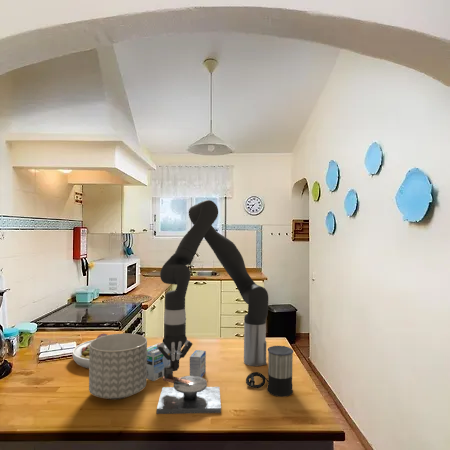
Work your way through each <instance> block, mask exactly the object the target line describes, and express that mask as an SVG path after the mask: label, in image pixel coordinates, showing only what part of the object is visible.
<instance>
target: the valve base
mask: <svg viewBox="0 0 450 450" xmlns="http://www.w3.org/2000/svg"><path fill="white" fill-rule="evenodd" d="M221 404H222V403H221V391H220V386H207V387H206V388H205V389H204V390H203V391H200V392H197V393H181V392H178V391H176V390H175V389H174V386H173V387H172V386H171V387H169V386H167V387H165V386H163V387H162V388H161V392H160V395H159V399H158V403H157V407H156V414H157V415H161V414H163V415H164V414H166V415H167V414H168V415H169V414H172V415H173V414H175V415H176V414H221V413H222V405H221Z"/></svg>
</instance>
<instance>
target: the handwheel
mask: <svg viewBox="0 0 450 450" xmlns="http://www.w3.org/2000/svg"><path fill="white" fill-rule="evenodd" d="M162 381H165V382H168V383H172V384H173V387H174V389H175V390H176V391H178V392H181V393H197V392H200V391H203V390H204V389H205V388H206V387H208V381H207V379H206V378H204V377H203V376H202V377H198V376H190V375H186V376H179V377H177V376H174V371H173V367H172V366H166V367H164V376H163V377H162Z"/></svg>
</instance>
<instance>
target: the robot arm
mask: <svg viewBox="0 0 450 450" xmlns="http://www.w3.org/2000/svg"><path fill="white" fill-rule="evenodd" d="M218 216H219V208H218V206H217V204H216V203H215V202H214V201H213V200H211V199H205V200H203V201H200V202H198V203H196V204H194V205H193V206H190V208H189V210H188V217H189V219H190V222H191V223H192V227H191V228H190V229H189V230H188V231H187V233H186V234H185V235H184V236H183V237H182V239H181V240H180V242H179V244H178V246H177V248H176V249H175V252H174V253H172V255H171V256H170V258H168V259H167V260H166V262H165V263H164V264H163V266H162V267H161V269H160V274H159V275H160V276H159V277H160V281H162V283H164V284H167V285H176V288H175V289H173V290H169V291H167V292H166V293H165V295H164V296H165V297H164V314H163V315H164V318H163V321H164V323H163V326H164V327H163V328H164V329H163V339H162V342H160V343H161V344H160V345H157V348H158V349H159V351H160V352H161V353H162V354H163V355H164V356H165V358H166V359H167V360H170V366H172V367H173V372H176V371H177V372H178V370H179V369H180V360H181V359H184V358H185V356H186V355H187V353H189V350H190V349H191V347H192V346H193V342H192V341H191V340H188V337H187V335H186V331H187V330H186V329H187V327H186V326H187V325H186V322H187V321H186V320H187V317H186V316H187V314H186V295H187V291H188V286H189V283H190V280H191V269H190V268H189V265H190V264H192V263H193V261H194V258H195V255H196V253H197V252H198V250H199V247H200V245H201V243H202V242H203V239H204V240H205V241H206V243H207V244H208V245H209V247H210V248H211V250H212V251H213V253H214V255H215V257H216V258H217V259H218V261H219V262H220V264H221V266H222V267H223V268H224V270H225V272H226V273H227V274H228V275H229V277H230V279H231V280H232V281H233V282H234V284H235V286H236V287H237V288H236V289H237V290H238V292H239V294H240V296H241V298H242V300H243V301H244V302H245V303H246V304H247V313H246V314H245V315H244V317H243V318H244V322H243V331H244V332H243V363H244V364H245V365H247V366H250V367H261V366H265V365H267V340H266V337H267V336H266V335H267V334H266V331H267V329H266V328H267V327H266V325H267V318H268V312H269V294H268V290H267V289H266V288H265V287H263V286H261V285H258V284H257V283H256V282H255V281H254V280H253V279H252V276H250V274H249V273H248V270H247V268H246V265H245V261H244V258H243V256H242V254H241V252H240V250H239V248H238V247H237V246H236V244H235V243H234V242H233V241H231V240H230V239H229V238H228V237H226V236H224V235H223V234H221V233H219V232H218V231H217V230H216V229H215V227H213V226H214V225H213V224H214V223H215V222H216V220H217V218H218ZM164 345H165V346H166V347H167V348H168V349H169V353H170V355H168V354H167V353H166V352H165V351H164V349H165V347H164Z"/></svg>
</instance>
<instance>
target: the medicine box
mask: <svg viewBox="0 0 450 450" xmlns="http://www.w3.org/2000/svg"><path fill="white" fill-rule="evenodd" d="M206 354H207V351H206V350H201V349H197V350H196V349H195V351H193V353H192V354H191V355H190V356H189V376H198V377H202V378H203V376H204V375H205V373H206V372H207V371H206V370H207V369H206V367H207V365H206V364H207V363H206V361H207V360H206V359H207V355H206Z"/></svg>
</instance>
